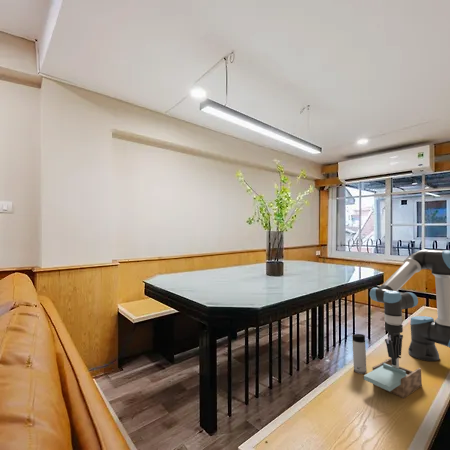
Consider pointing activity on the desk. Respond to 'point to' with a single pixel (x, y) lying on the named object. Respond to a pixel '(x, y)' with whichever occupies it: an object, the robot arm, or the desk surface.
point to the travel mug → (359, 353)
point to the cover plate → (386, 377)
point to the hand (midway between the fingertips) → (395, 370)
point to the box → (405, 381)
